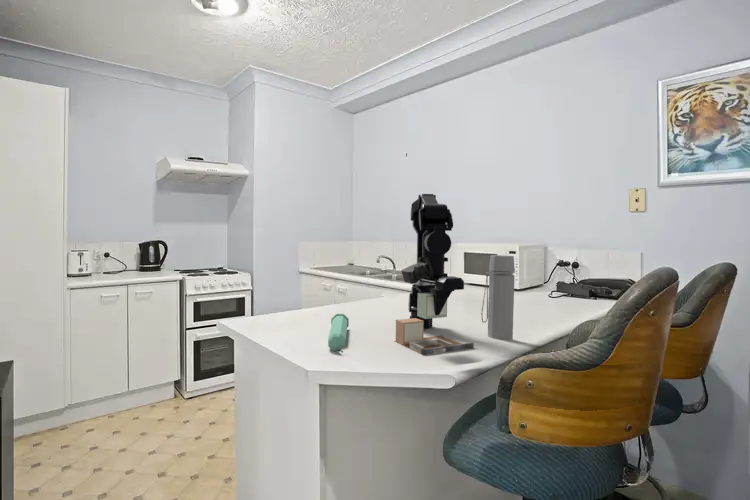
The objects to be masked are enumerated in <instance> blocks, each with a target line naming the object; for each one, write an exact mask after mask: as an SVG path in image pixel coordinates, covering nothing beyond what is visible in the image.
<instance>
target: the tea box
mask: <svg viewBox="0 0 750 500" xmlns="http://www.w3.org/2000/svg"><path fill="white" fill-rule="evenodd" d="M417 316H419V317H421V318H424V319H431V318H432V319H439V318H447V317H448V300H447V301H446V303H445V305H444V307H443V309H442V310H441V312H440V314H439V315H435V311H434V295H433V293H432V292H427V293H418V301H417Z"/></svg>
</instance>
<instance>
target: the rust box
mask: <svg viewBox="0 0 750 500" xmlns="http://www.w3.org/2000/svg"><path fill="white" fill-rule="evenodd" d="M424 331H425V329H424V321H423V320H420V319H417V318H412V319H410V318H402V319H396V320H395V341H396V342H398V343H397V344H399V343H400V344H399V345H401V344H402V345H401V346H403V345H407V344H410V342H412V341H421V340H423V338H424V337H425V336H424V335H425V334H424ZM396 342H395V343H396Z"/></svg>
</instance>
